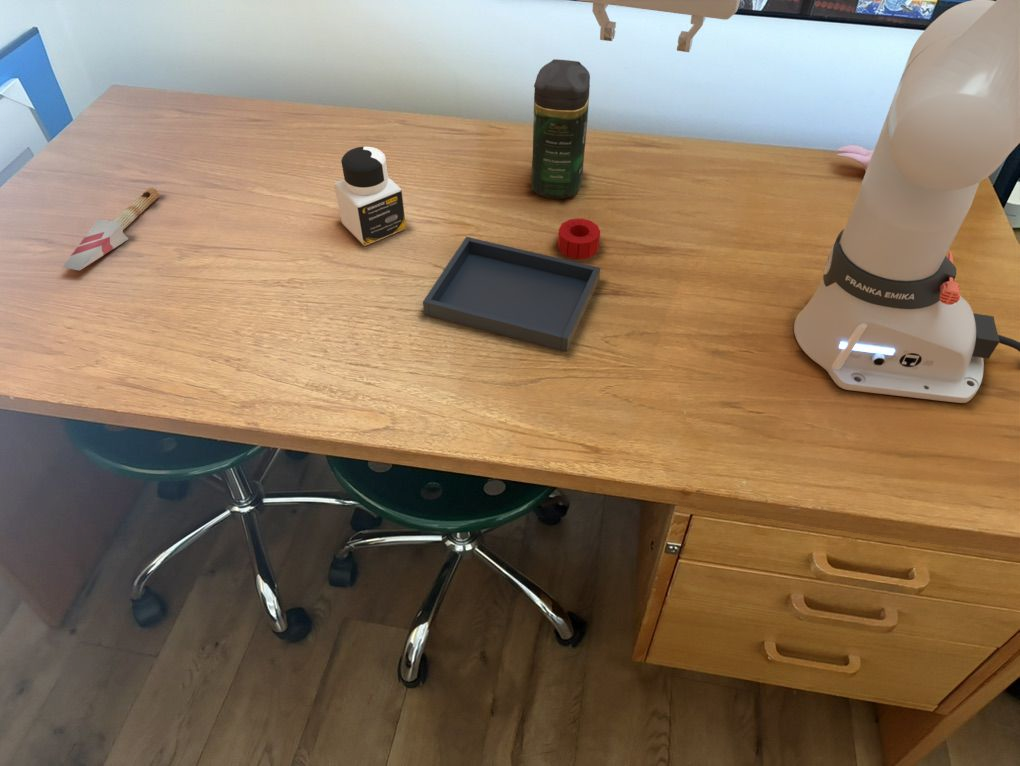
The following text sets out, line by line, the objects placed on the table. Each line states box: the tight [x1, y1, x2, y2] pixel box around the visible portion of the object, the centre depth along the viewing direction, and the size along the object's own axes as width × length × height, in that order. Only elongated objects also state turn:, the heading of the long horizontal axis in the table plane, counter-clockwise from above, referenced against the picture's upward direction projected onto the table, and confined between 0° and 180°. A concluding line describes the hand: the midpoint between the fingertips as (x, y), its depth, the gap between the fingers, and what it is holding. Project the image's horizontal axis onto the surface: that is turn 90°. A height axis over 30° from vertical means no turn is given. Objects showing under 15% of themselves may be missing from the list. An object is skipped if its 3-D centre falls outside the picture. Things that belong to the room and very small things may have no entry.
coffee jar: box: [531, 58, 591, 200], centre depth 118 cm, size 10×8×19 cm
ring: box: [557, 218, 601, 260], centre depth 113 cm, size 6×6×3 cm
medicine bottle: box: [334, 146, 407, 247], centre depth 113 cm, size 7×7×12 cm
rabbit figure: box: [836, 144, 874, 172], centre depth 124 cm, size 6×6×15 cm
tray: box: [422, 236, 601, 352], centre depth 106 cm, size 20×15×3 cm
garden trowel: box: [61, 187, 160, 272], centre depth 115 cm, size 4×3×20 cm
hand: (645, 44), depth 96 cm, fingers open, 8 cm apart
